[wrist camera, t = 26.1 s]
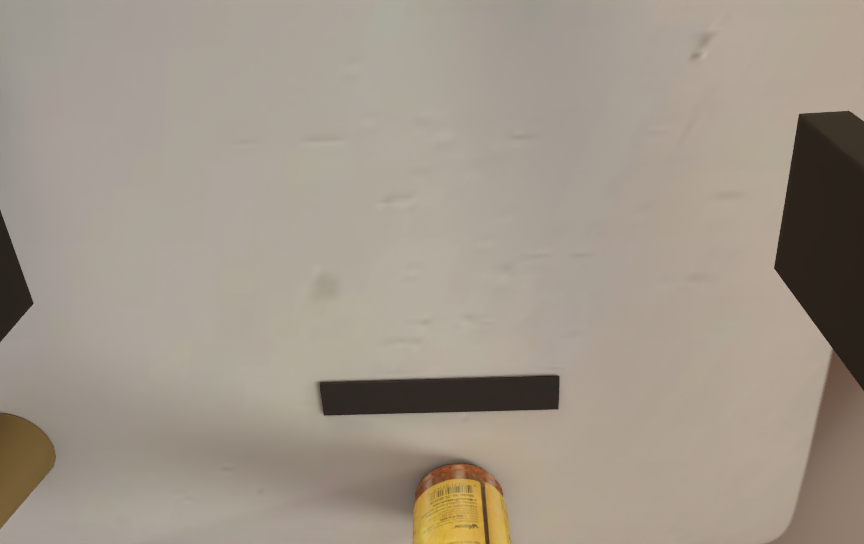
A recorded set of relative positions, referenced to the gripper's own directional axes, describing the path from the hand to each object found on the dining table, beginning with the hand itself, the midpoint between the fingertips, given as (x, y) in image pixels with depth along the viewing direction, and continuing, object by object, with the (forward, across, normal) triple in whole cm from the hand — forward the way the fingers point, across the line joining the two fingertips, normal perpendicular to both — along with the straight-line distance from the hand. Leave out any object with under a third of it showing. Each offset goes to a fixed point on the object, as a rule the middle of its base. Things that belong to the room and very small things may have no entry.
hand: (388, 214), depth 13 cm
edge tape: (+29, -1, -26) cm, 39 cm away
